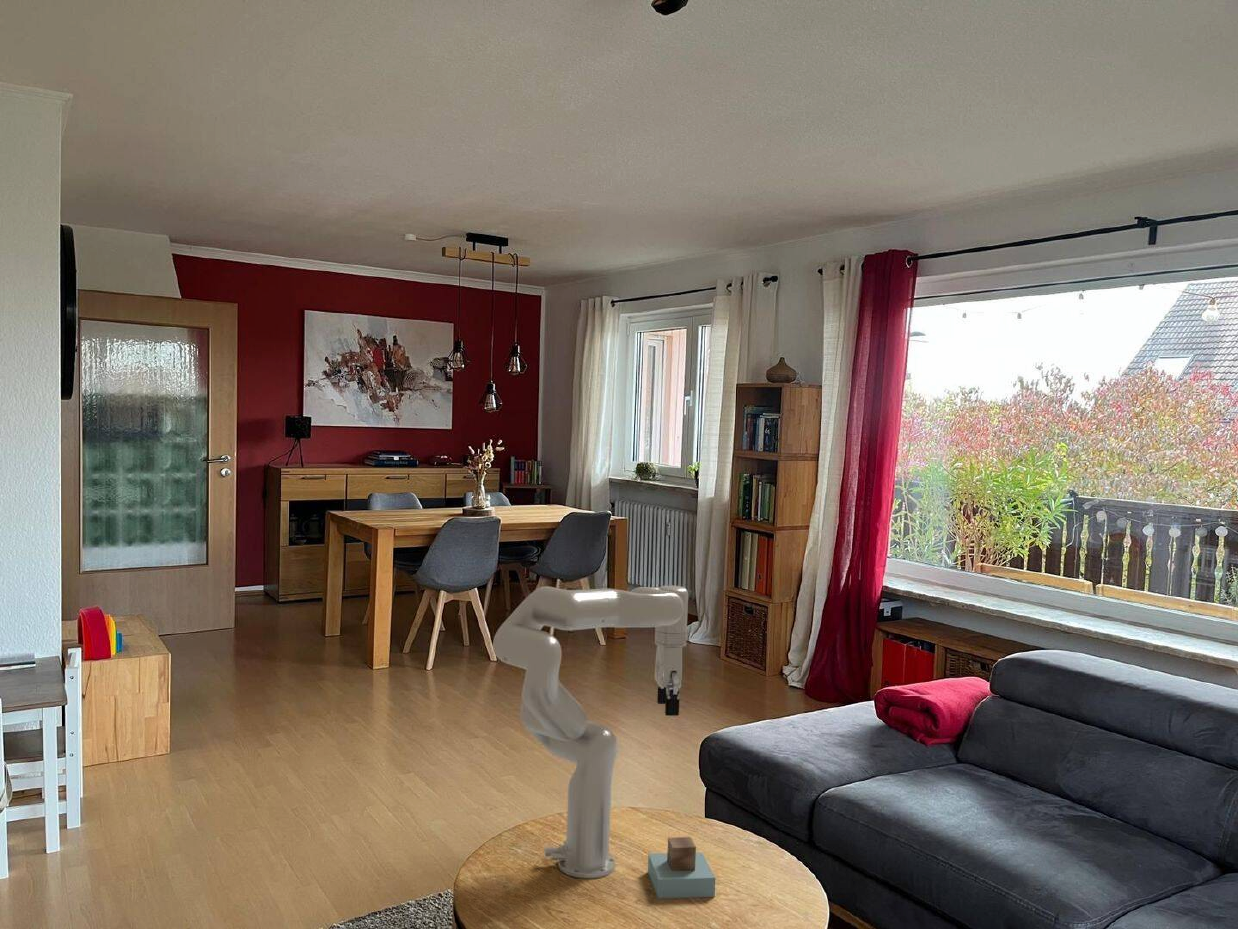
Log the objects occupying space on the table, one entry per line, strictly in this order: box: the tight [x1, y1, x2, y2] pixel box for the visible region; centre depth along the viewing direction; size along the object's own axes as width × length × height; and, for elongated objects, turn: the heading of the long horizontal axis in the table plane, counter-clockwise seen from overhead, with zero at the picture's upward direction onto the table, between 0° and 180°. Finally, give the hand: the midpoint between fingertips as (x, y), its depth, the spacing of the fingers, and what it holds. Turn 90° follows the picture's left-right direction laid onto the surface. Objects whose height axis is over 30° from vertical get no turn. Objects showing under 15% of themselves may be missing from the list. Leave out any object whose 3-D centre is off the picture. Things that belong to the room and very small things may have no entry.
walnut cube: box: [667, 836, 697, 871], centre depth 199 cm, size 5×5×5 cm
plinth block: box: [647, 852, 716, 900], centre depth 200 cm, size 12×12×4 cm
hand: (667, 709), depth 224 cm, fingers open, 9 cm apart
